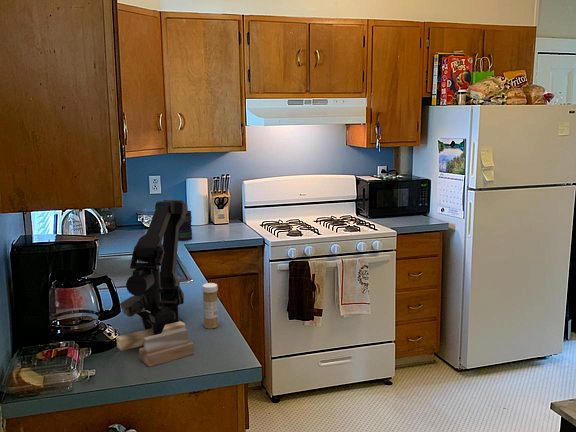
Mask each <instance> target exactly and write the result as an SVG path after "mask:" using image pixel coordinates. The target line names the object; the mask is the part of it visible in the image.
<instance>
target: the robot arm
mask: <svg viewBox="0 0 576 432" xmlns="http://www.w3.org/2000/svg"><path fill="white" fill-rule="evenodd" d="M188 209H189V208H188V204H187V202H185V201H184V200H182V199H164V200H160V201H156V202H155V206H154V212H153V214H152V217H151V220H150V223H149V225H148V228H147V230H146V233H145V234H143V235H142V236H141V237H139V239H138V240H137V242H136V244H135V245H134V247H133V251H132V254H131V255H132V256H131V261H130V266H129V269H131V270H132V275H131V276H129V278H127V280H126V283H125V286H126V290H127V292H128V293H129V294H131V295H132V296H130V297H129V298H126V299H124V300H123V301H122V302H120V303H119V306H120V308H121V310H122V312H123V315H126V316H127V317H128V318H131V317H133V316H135V315H137V316H138V317H139V319H140V321H141V323H142V325H143V329H144V330H147V329H151V328H152V329H153V335H157V334H161V333H162V331H163V329H164V327H165V325H167V324H171V323H175V322H179V321H181V322H183V323H184V320H183V319H182V318H180V317H179V306H181V305H183V304H184V303H185V300H184V299H185V293H184V291H183V289H182V288H181V285H180V284H181V282H180V280H179V278H178V276H177V274H176V273H177V272H176V268H177V258H178V257H177V256H178V245H179V241H178V236H179V228H180V226H181V225H182V224H183V222H184V221H185V216H186V214H187V211H189V210H188Z"/></svg>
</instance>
